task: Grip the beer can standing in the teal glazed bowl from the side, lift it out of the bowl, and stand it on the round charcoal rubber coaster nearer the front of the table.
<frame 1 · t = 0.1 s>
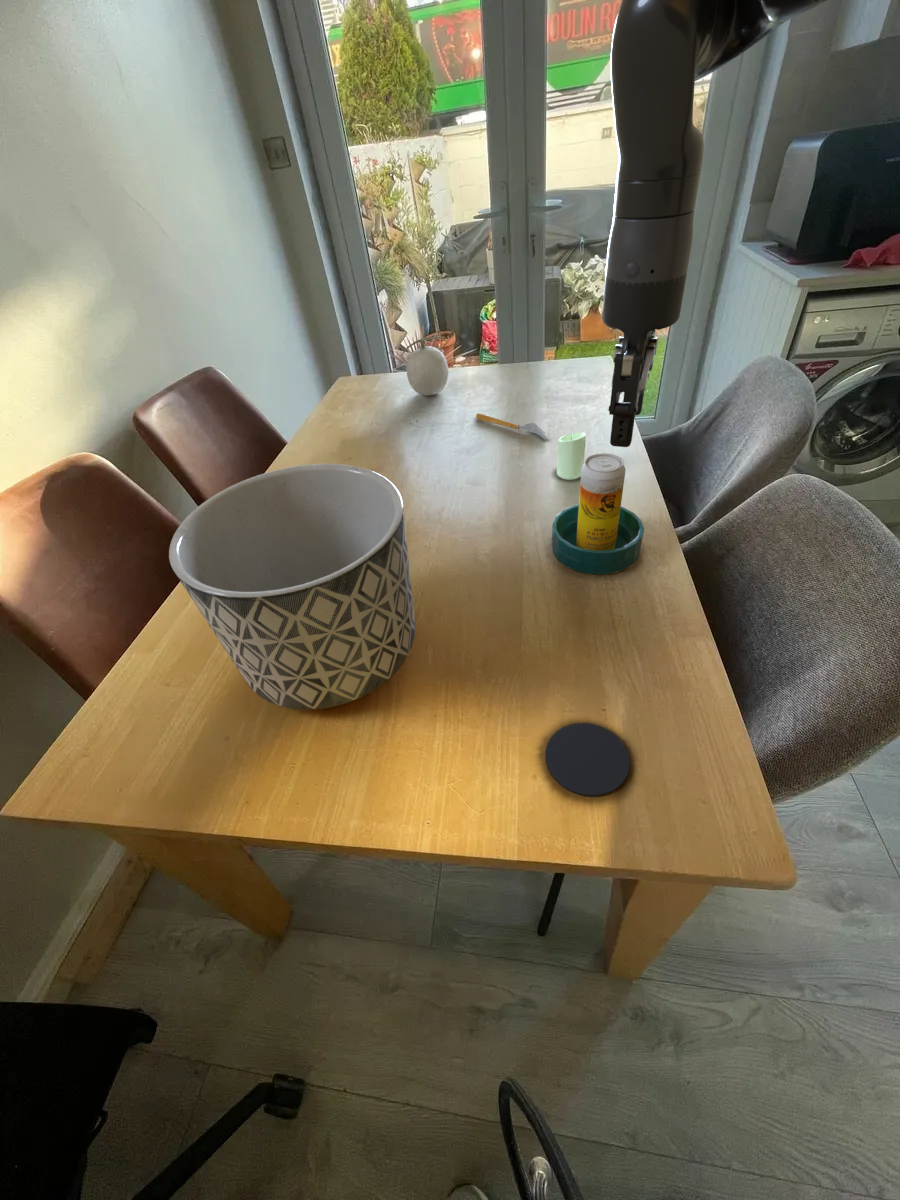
hand: (626, 428, 64), 25 cm above the table, tool pointing down, fingers open, 8 cm apart
beer can: (595, 548, 88), resting on bowl
fruit: (428, 394, 143), on the table
candle: (569, 474, 107), on the table
fork: (510, 429, 124), on the table
planter: (334, 653, 77), on the table
coaster: (586, 758, 61), on the table
bowl: (595, 549, 88), on the table
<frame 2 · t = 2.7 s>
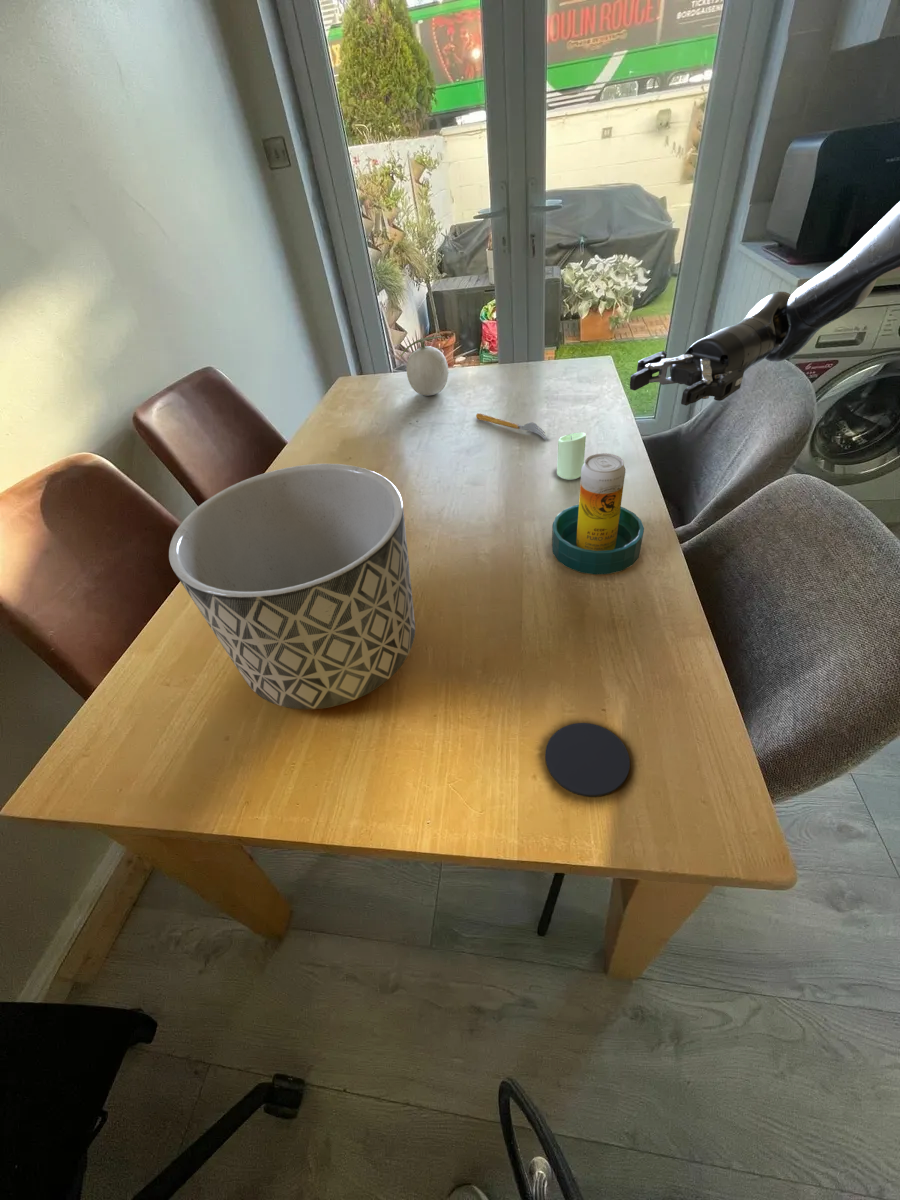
hand: (657, 390, 78), 22 cm above the table, tool horizontal, fingers open, 8 cm apart
nothing on the table moved.
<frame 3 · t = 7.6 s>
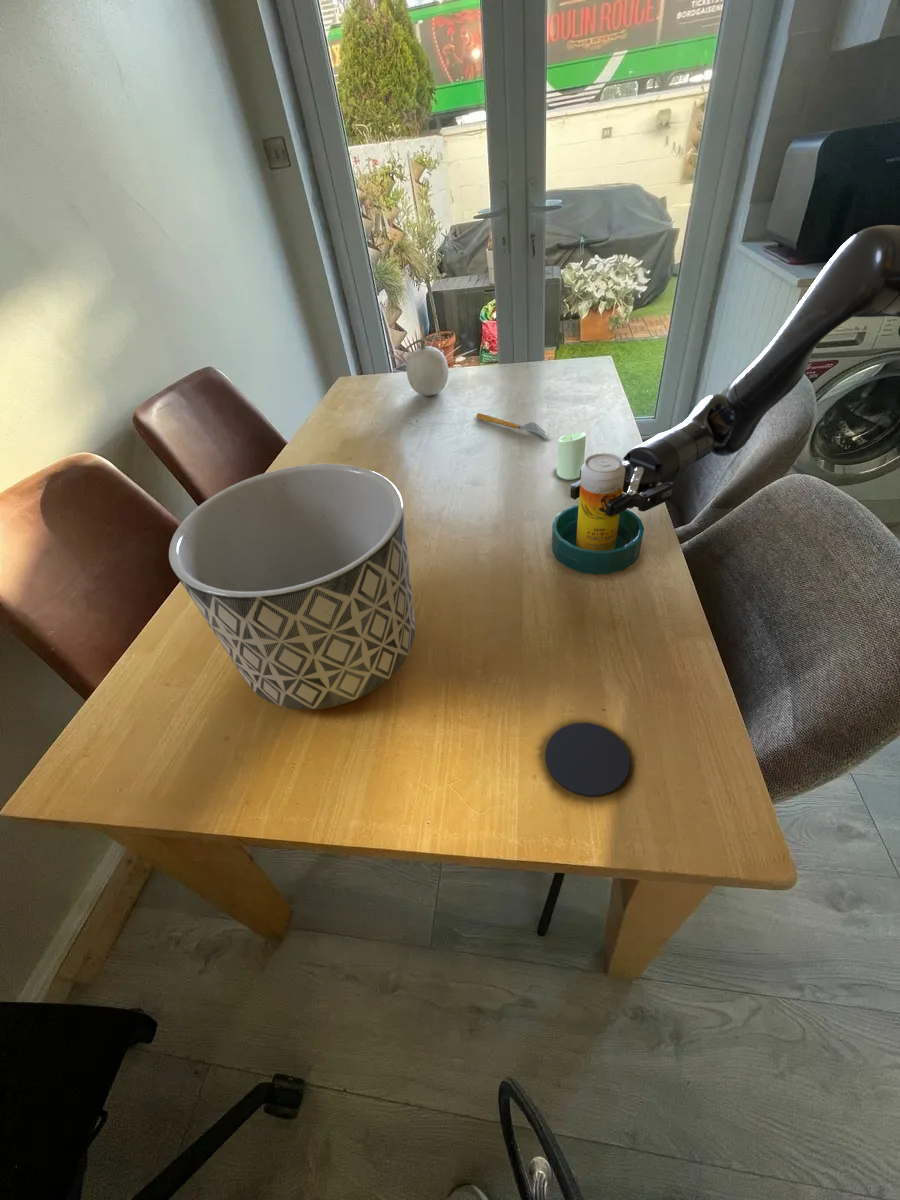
hand: (590, 501, 80), 10 cm above the table, tool horizontal, fingers closed on beer can, 6 cm apart
beer can: (595, 548, 88), resting on bowl, touching gripper
everything else where it was.
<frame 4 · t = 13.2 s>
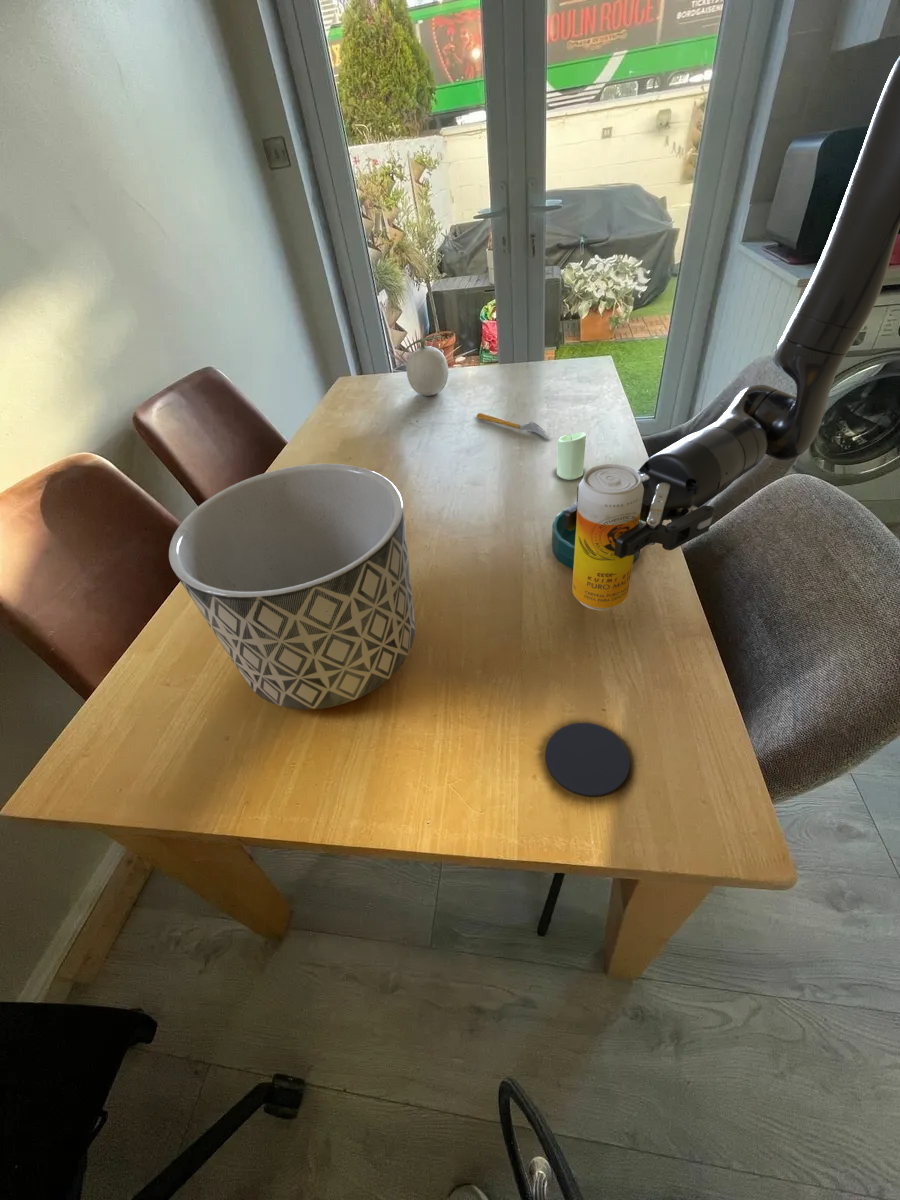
hand: (591, 535, 55), 22 cm above the table, tool horizontal, fingers closed on beer can, 6 cm apart
beer can: (599, 596, 62), point 12 cm above the table, touching gripper
everything else where it was.
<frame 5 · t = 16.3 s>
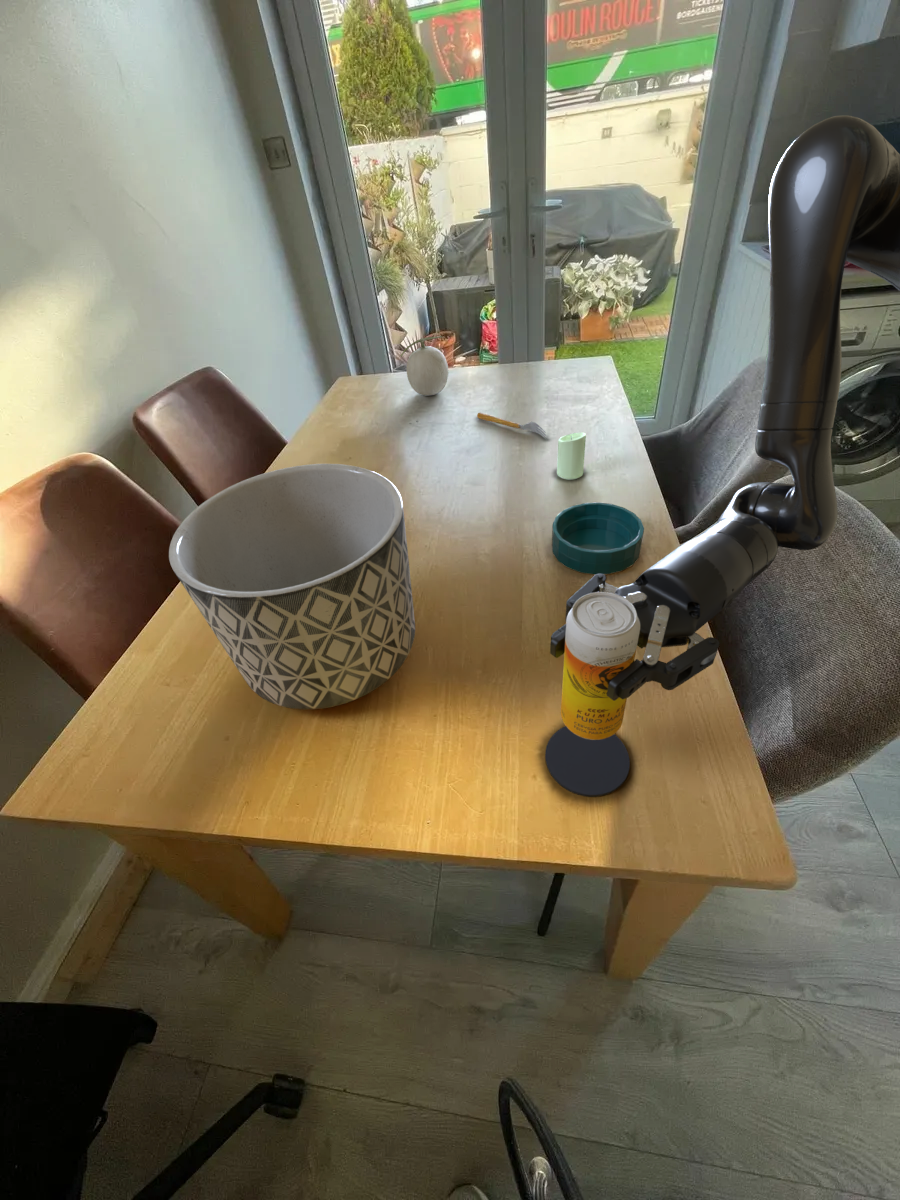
hand: (581, 670, 49), 17 cm above the table, tool horizontal, fingers closed on beer can, 6 cm apart
beer can: (590, 719, 56), point 7 cm above the table, touching gripper
everything else where it was.
when the fingers open (10 cm above the table, at t = 18.7 s): beer can stays where it is, resting on coaster.
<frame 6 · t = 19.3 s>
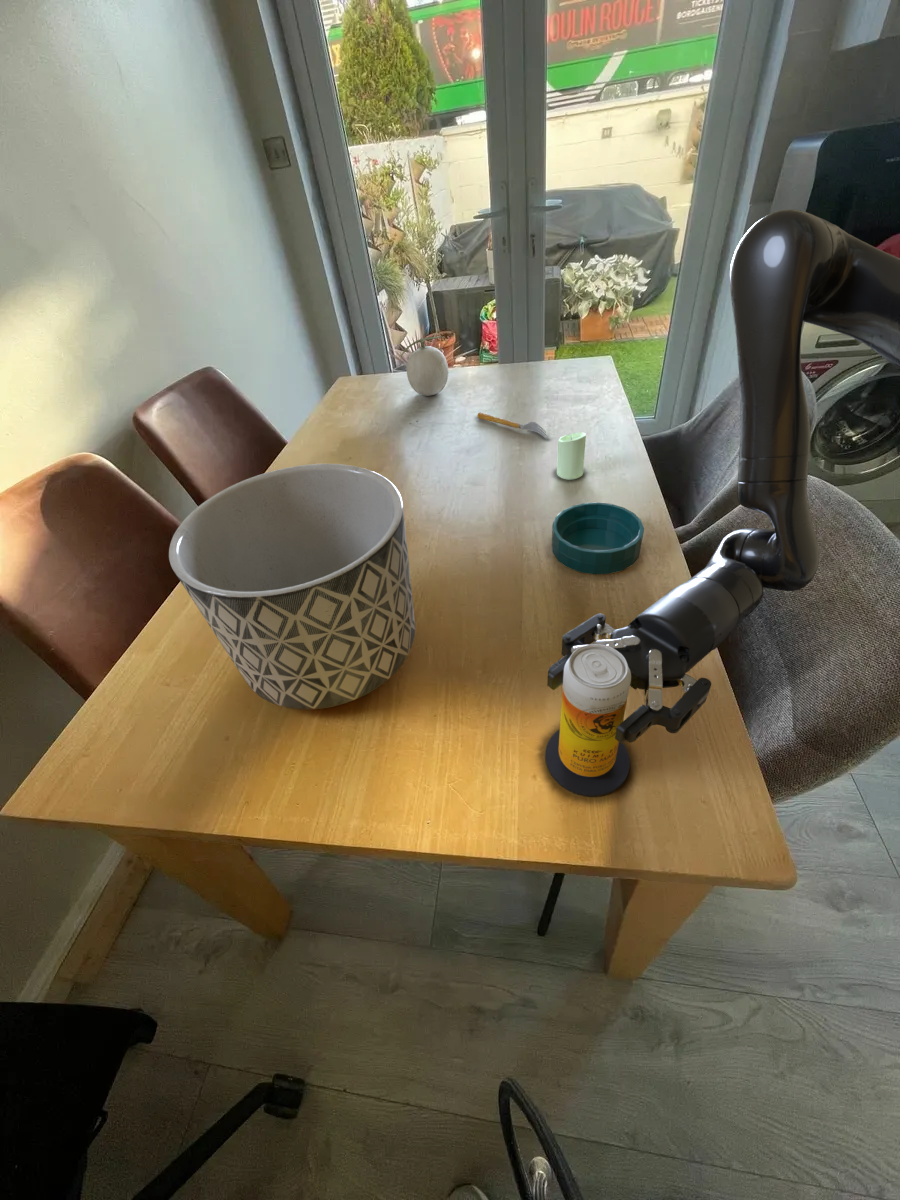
hand: (582, 708, 53), 11 cm above the table, tool horizontal, fingers open, 8 cm apart
beer can: (586, 756, 61), resting on coaster
everything else where it was.
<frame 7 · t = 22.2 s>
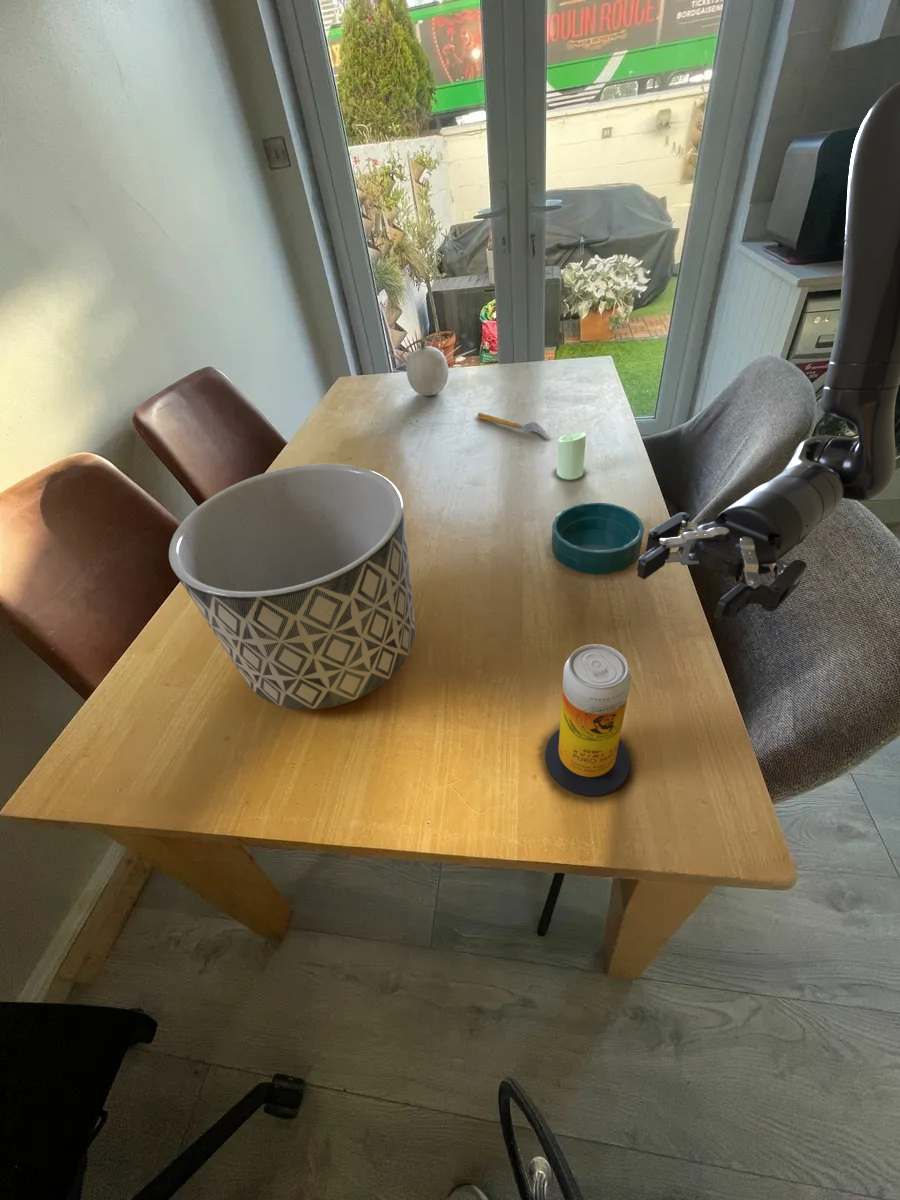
hand: (678, 590, 53), 18 cm above the table, tool horizontal, fingers open, 8 cm apart
nothing on the table moved.
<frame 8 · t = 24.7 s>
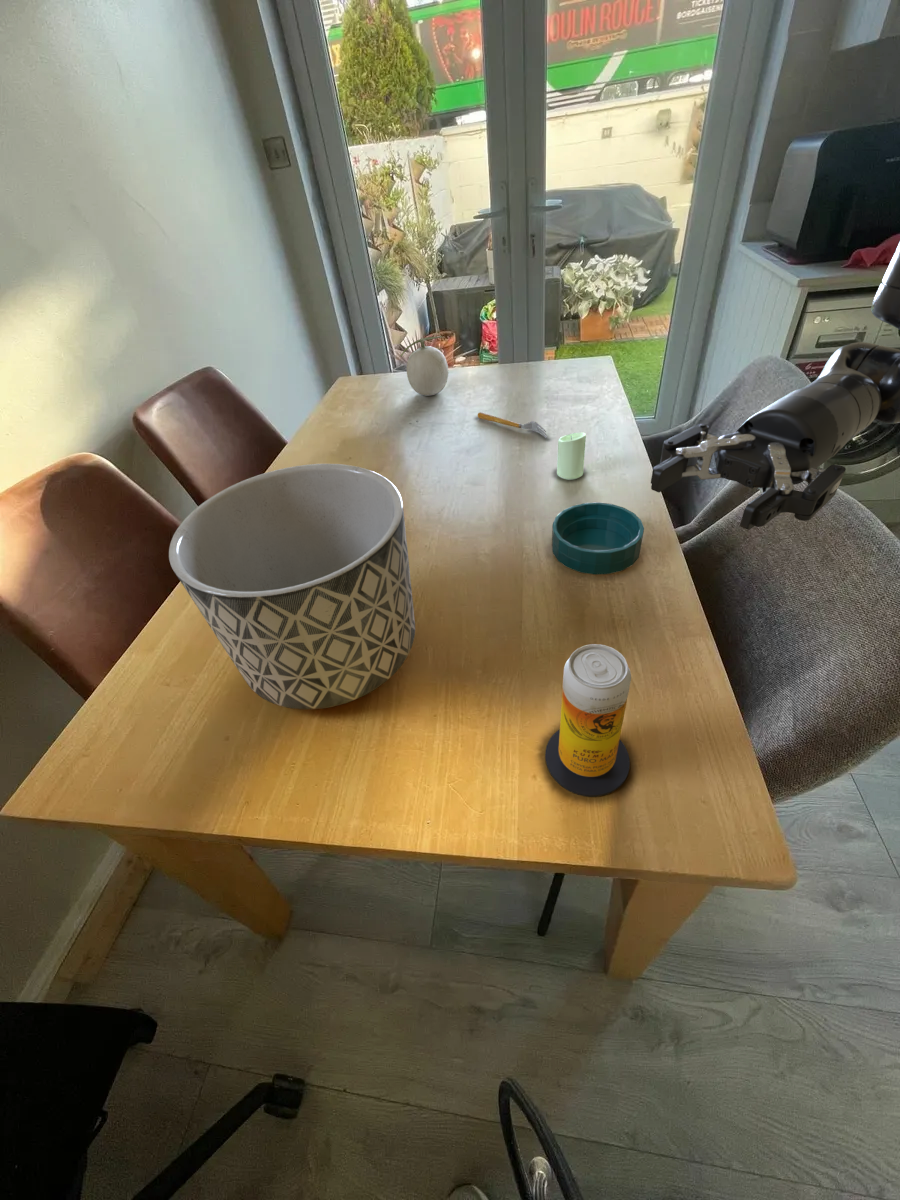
hand: (698, 499, 47), 28 cm above the table, tool horizontal, fingers open, 8 cm apart
nothing on the table moved.
at the end: beer can 0.1 cm off-centre on the coaster, point 0.2 cm above the coaster's base; beer can tilted 0°; the gripper is holding nothing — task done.
